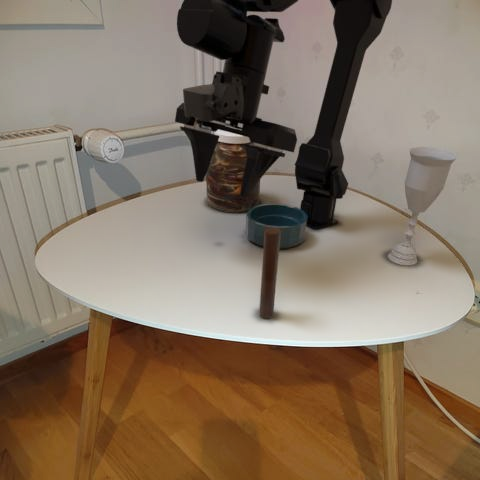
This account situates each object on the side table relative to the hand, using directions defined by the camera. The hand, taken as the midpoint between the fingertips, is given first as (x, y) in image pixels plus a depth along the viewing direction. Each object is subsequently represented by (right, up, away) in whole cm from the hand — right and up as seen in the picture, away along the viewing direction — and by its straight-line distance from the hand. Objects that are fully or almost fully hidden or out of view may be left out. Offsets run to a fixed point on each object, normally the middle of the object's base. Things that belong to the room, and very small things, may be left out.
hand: (220, 189), depth 62 cm
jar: (+1, +7, +32) cm, 33 cm away
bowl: (+10, -4, +18) cm, 21 cm away
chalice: (+32, -9, +13) cm, 35 cm away
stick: (+7, -19, -2) cm, 20 cm away
